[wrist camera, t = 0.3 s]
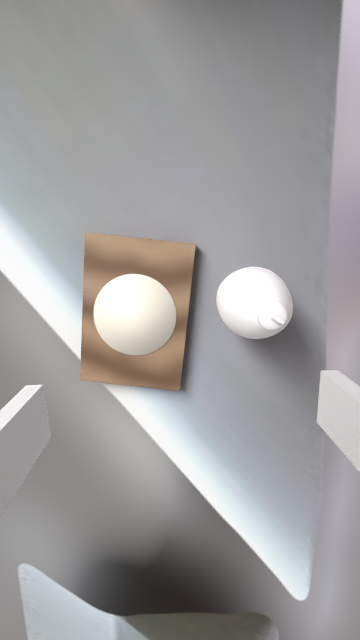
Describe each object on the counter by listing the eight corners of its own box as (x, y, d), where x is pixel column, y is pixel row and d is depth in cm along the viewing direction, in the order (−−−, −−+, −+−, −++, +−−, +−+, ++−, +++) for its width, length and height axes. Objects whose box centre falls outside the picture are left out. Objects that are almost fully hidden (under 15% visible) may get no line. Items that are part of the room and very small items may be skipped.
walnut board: (90, 233, 39) (84, 232, 37) (195, 244, 39) (195, 243, 37) (85, 374, 43) (79, 380, 41) (180, 384, 43) (179, 391, 41)
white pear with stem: (278, 308, 41) (349, 346, 23) (226, 331, 42) (256, 386, 24) (256, 255, 39) (313, 254, 22) (203, 281, 40) (216, 299, 23)
